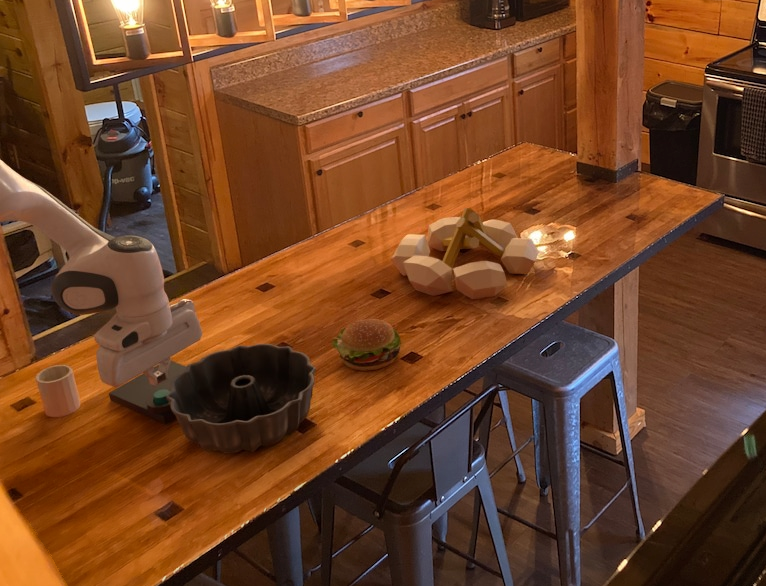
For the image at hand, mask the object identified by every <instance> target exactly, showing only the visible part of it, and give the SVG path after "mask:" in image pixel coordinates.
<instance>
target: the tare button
mask: <svg viewBox="0 0 766 586" xmlns="http://www.w3.org/2000/svg"><path fill="white" fill-rule="evenodd" d="M168 393H169V391H168V390H159V391H157V392H155V393H154V400H155V403H156V404H163V403H166V402H168V400H167V399H166V395H167V394H168Z"/></svg>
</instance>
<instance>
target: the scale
mask: <svg viewBox="0 0 766 586" xmlns="http://www.w3.org/2000/svg"><path fill="white" fill-rule="evenodd" d="M186 367H187V365H183V364H181V363H179V362H176V361H174V360H171V362H170V365H169V368H168V371H167V373H168V379H166V380H164V381H163V382H161V383H159V384H158V385H156V386H154V385H151V384H150V382H149V378H148V376H146V375H145V374H144V373H142V374H140V375H138V376H136V377H135V378H133V379H131V380H129V381H128V382H126V383H124V384H122V385H121V386H119V387H116V388H115V389H114V390H111V391H110V392H108V397H109V401H110V402H112V403H115V404H117V405H119V406H121V407H124V408H126V409H128V410H130V411H133V412H135V413H137V414H140V415H141V416H144V417H147V418H149V419H151V420H153V421H156V422H158V423H161V424H162V425H167V424H168V423H170V422H172V421H173V420H175V419H177V418H176V415H175V414H174V413H173V412H172V410H171V407H170V404H171V403H170V402H169V401H168V402H166V403H163V404H156V403H155V400H154V393H155V392H157V391H159V390H168V391H169V392H170V391H171V388H170V384H171V382H172V380H173V379H174V378H175V377H176V376H177V375H179V374H180V373H182V372H184V371H185V370H186ZM158 368H159V364H157V365H156V366H154V371H153V372H152V373H155V372H156V371H158Z"/></svg>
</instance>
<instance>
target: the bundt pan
mask: <svg viewBox="0 0 766 586" xmlns="http://www.w3.org/2000/svg"><path fill="white" fill-rule="evenodd" d="M316 372H317V367H316V366H315V365H312V364H311V359H310V357H309V356H308V354H305V353H304V352H301V351H297V350H293V348H292V347H291V346H289V345H287V346H278V345H276V344H272V343H257V344H256V343H255V344H252V345H248V346H247V345H236V346H233V347H232V348H230V349H223V350H219V351H214V352H212V353H209V354H207V355H205V356H204V357H202V358H201V359H199V361H196V362H193V363H190V364H189V363H188V365H186V370H185V371H184V372H182V373H180V374H179V375H177V376H176V377H175V378H174V379H173V380H172V382H171V384H170V388H171V391H170V392H169V393H168V394H167V395H166V399H167V400H168V401H169V402H170V403H171V404H170V407H171V410H172V412H173V413H174V414H175V415H176V418H175V419H176V420H177V422H178V424H179V426H180V428H181V430H182V433H183V435H184V436H185V437H186V438H187V439H188V440H189V442H192V443H194V444H197V445H199V446H200V448H201V449H202V450H204V451H206V452H215V451H217V450H218V451H219V452H221V453H224V454H228V455H229V454H236V453H238V452H241V451H242V450H246V451H248V452H249V453H250V452H251V453H254V452H255V451H256V450H257V449H258V448H259V447H260V446H263V447H267V446H268V447H269V446H272V445H275V444H277V443H279V442H280V441H281V440H282V439H283V438H284V437H285V436H290V435H293V434H294V433H296V431H297V430H298V428H299V425H300V423H303V421H304V420H305V419H306V418H307V416H308V414H309V412H310V410H311V400H312V397H313V389H314V385H315V376H314V374H315V373H316Z"/></svg>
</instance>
